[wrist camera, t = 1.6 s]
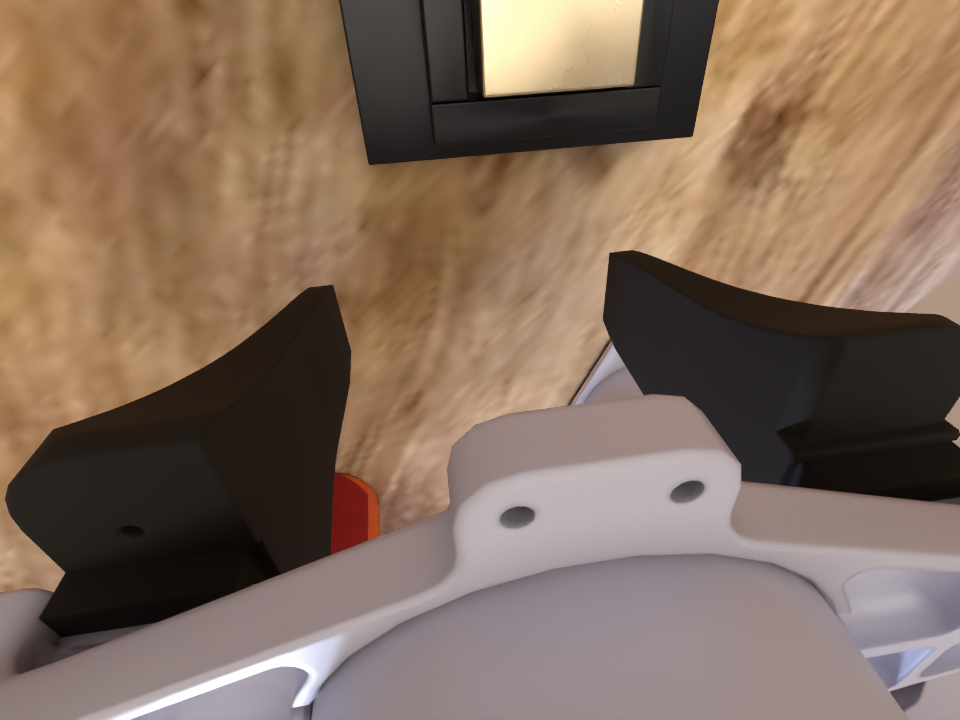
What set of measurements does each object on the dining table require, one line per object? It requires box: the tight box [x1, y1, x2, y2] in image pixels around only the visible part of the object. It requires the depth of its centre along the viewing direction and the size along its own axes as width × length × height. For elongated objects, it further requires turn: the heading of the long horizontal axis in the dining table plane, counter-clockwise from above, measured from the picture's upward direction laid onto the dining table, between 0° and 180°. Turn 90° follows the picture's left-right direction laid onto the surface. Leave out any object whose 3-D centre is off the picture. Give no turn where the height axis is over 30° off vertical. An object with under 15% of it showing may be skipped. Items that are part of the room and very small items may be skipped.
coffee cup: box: [331, 473, 380, 555], centre depth 25 cm, size 8×8×15 cm
